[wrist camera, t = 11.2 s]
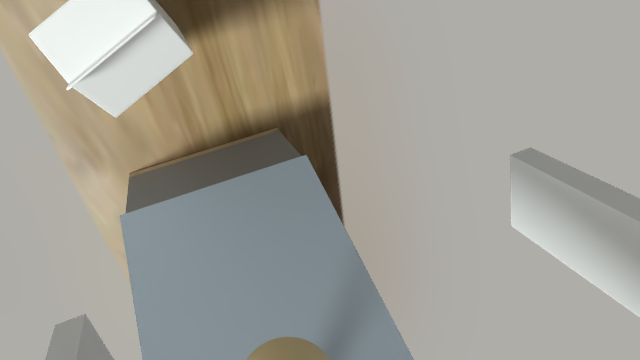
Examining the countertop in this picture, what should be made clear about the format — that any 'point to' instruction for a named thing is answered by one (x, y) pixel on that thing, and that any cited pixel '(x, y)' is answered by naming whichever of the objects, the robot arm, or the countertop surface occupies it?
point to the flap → (254, 275)
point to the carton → (207, 168)
